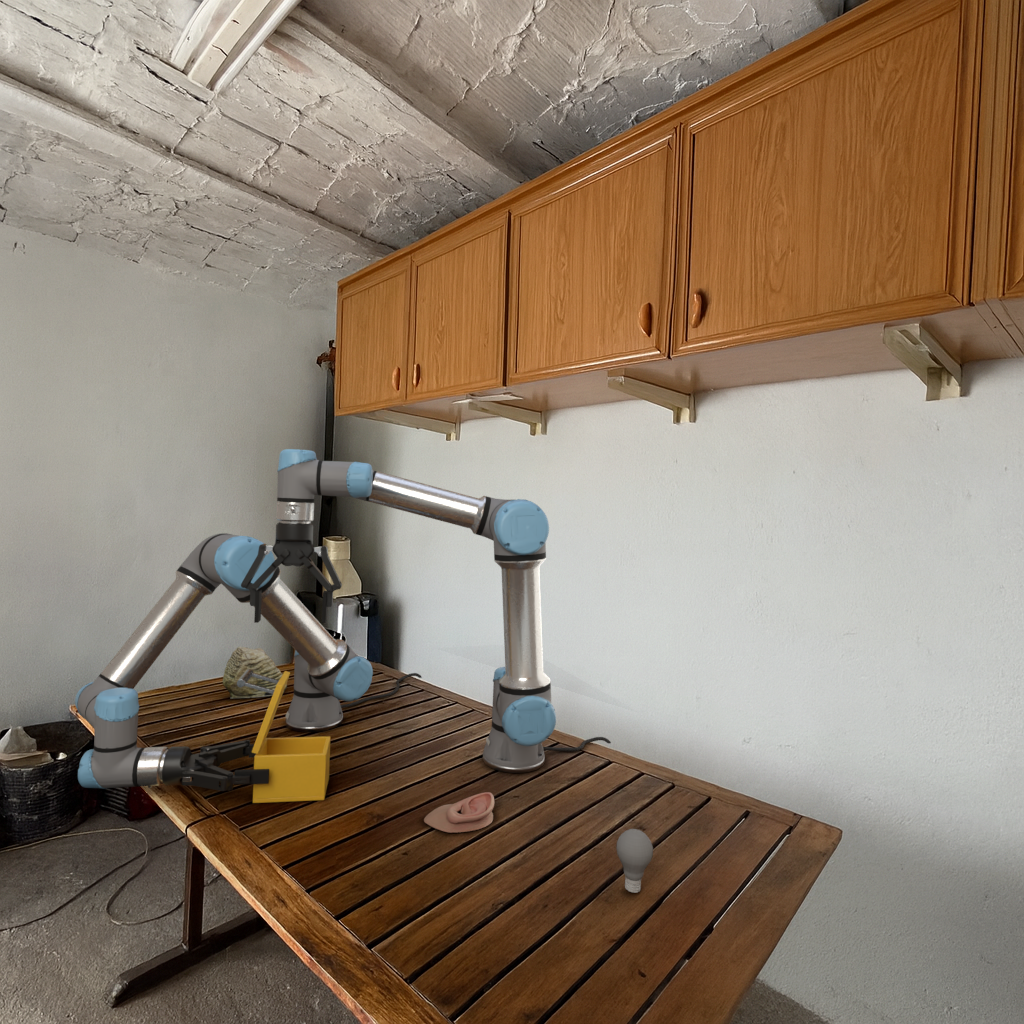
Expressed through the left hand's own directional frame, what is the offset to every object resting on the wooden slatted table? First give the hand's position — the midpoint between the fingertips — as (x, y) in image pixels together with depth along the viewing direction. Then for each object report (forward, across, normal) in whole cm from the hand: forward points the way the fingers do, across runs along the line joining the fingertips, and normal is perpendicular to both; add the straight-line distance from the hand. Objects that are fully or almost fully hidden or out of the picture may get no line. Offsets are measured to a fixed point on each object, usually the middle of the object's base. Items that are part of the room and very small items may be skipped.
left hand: (274, 762), depth 135 cm
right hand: (+2, 0, +30) cm, 30 cm away
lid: (0, 0, +11) cm, 11 cm away
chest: (+4, 0, -6) cm, 7 cm away
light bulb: (+64, +43, -6) cm, 77 cm away
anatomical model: (+38, +16, -6) cm, 42 cm away
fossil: (-17, -67, -6) cm, 70 cm away
